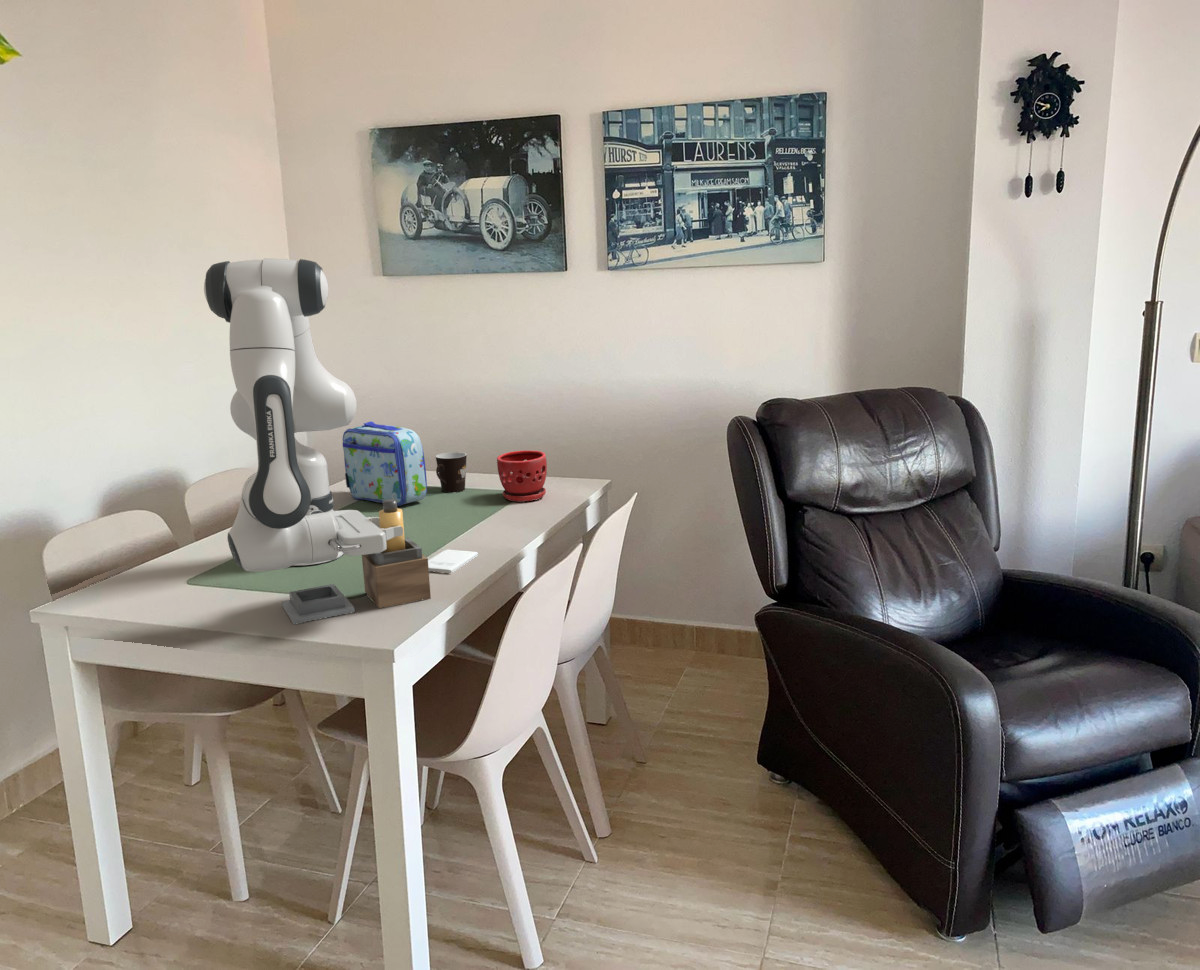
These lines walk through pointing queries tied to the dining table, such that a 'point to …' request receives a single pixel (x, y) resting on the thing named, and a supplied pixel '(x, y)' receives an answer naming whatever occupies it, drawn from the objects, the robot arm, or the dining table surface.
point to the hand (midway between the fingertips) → (396, 525)
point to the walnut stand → (397, 576)
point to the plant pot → (522, 475)
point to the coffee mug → (451, 471)
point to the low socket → (316, 603)
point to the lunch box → (384, 463)
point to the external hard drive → (450, 560)
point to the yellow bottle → (392, 524)
